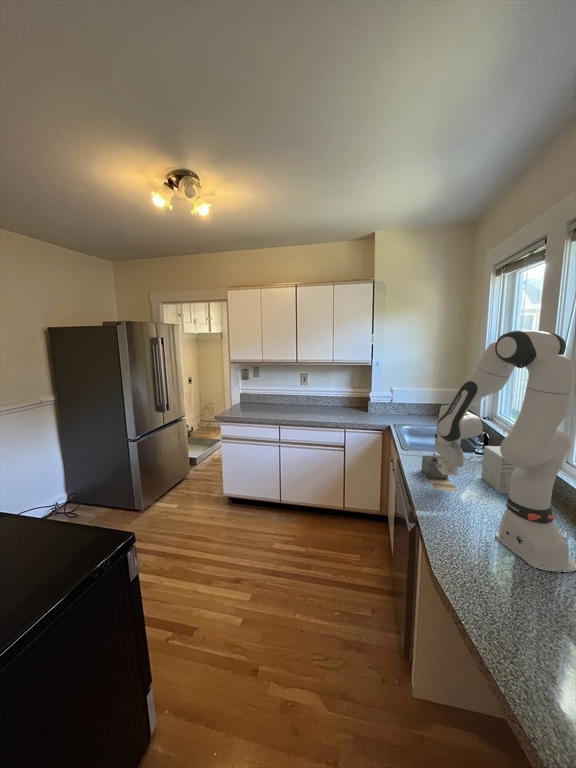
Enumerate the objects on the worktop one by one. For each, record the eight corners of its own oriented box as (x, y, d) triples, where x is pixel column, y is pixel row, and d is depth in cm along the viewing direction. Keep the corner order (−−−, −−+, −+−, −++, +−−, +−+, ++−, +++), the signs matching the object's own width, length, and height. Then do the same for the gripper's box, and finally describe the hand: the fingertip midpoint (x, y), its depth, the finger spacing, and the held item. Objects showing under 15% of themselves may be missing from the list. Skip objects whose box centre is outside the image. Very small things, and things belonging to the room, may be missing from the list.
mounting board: (459, 493, 138) (459, 490, 138) (437, 493, 138) (437, 490, 138) (439, 473, 158) (439, 470, 158) (419, 472, 159) (420, 469, 159)
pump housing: (457, 475, 136) (458, 464, 136) (439, 475, 137) (439, 464, 136) (451, 469, 142) (451, 459, 141) (433, 469, 143) (433, 459, 142)
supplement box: (527, 494, 137) (532, 457, 134) (496, 493, 138) (500, 456, 135) (508, 480, 150) (512, 446, 147) (480, 479, 151) (483, 445, 148)
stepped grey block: (447, 479, 148) (449, 457, 147) (428, 478, 149) (429, 457, 147) (439, 471, 157) (441, 450, 155) (421, 470, 158) (422, 450, 156)
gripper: (468, 446, 127) (466, 478, 129) (446, 432, 147) (444, 460, 149) (452, 446, 127) (451, 478, 129) (432, 432, 147) (431, 460, 149)
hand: (447, 468), depth 139 cm, fingers closed on pump housing, 6 cm apart
